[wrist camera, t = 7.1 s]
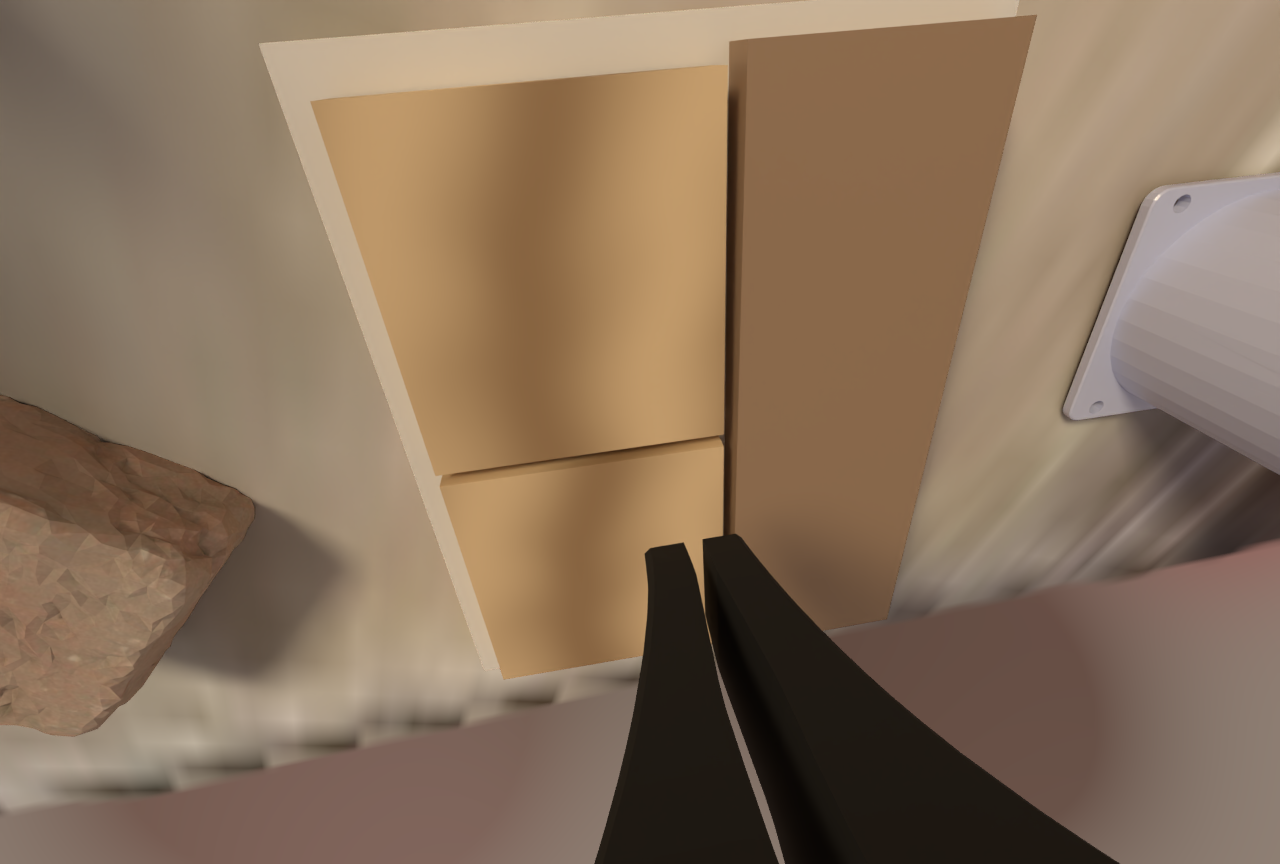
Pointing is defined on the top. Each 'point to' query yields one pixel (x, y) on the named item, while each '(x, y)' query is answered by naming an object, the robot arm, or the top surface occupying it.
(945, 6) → the floor board
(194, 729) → the top surface
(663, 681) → the robot arm
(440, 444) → the plank
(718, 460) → the plank
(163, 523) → the brick
